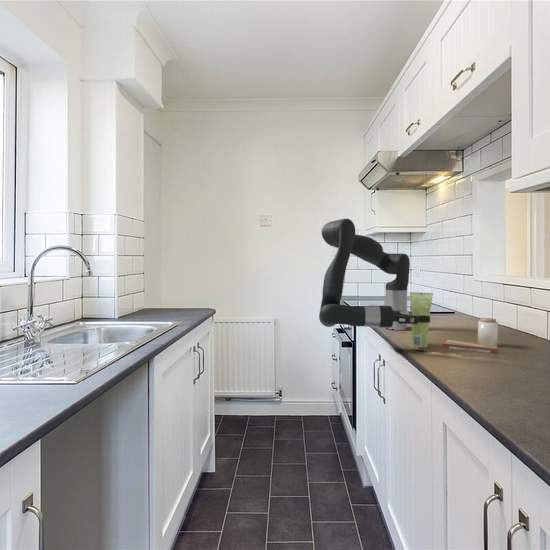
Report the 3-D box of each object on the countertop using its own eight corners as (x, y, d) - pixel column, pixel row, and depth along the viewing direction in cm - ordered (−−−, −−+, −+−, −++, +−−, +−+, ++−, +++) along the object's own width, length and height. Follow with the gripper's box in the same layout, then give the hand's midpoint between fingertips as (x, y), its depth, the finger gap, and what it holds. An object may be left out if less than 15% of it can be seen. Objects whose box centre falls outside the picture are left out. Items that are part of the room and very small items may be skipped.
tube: (419, 346, 135) (420, 291, 134) (431, 349, 131) (433, 292, 130) (408, 348, 132) (409, 291, 132) (420, 351, 128) (421, 293, 127)
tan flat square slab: (447, 342, 142) (447, 336, 142) (497, 347, 134) (497, 341, 134) (442, 351, 129) (442, 343, 129) (497, 357, 121) (497, 349, 121)
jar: (478, 342, 138) (478, 317, 137) (497, 343, 135) (498, 318, 134) (477, 345, 132) (478, 319, 132) (497, 347, 129) (498, 320, 129)
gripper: (381, 308, 125) (433, 309, 124) (374, 303, 139) (420, 303, 138) (381, 331, 125) (432, 332, 124) (373, 323, 139) (419, 324, 138)
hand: (425, 317), depth 131 cm, fingers open, 8 cm apart
